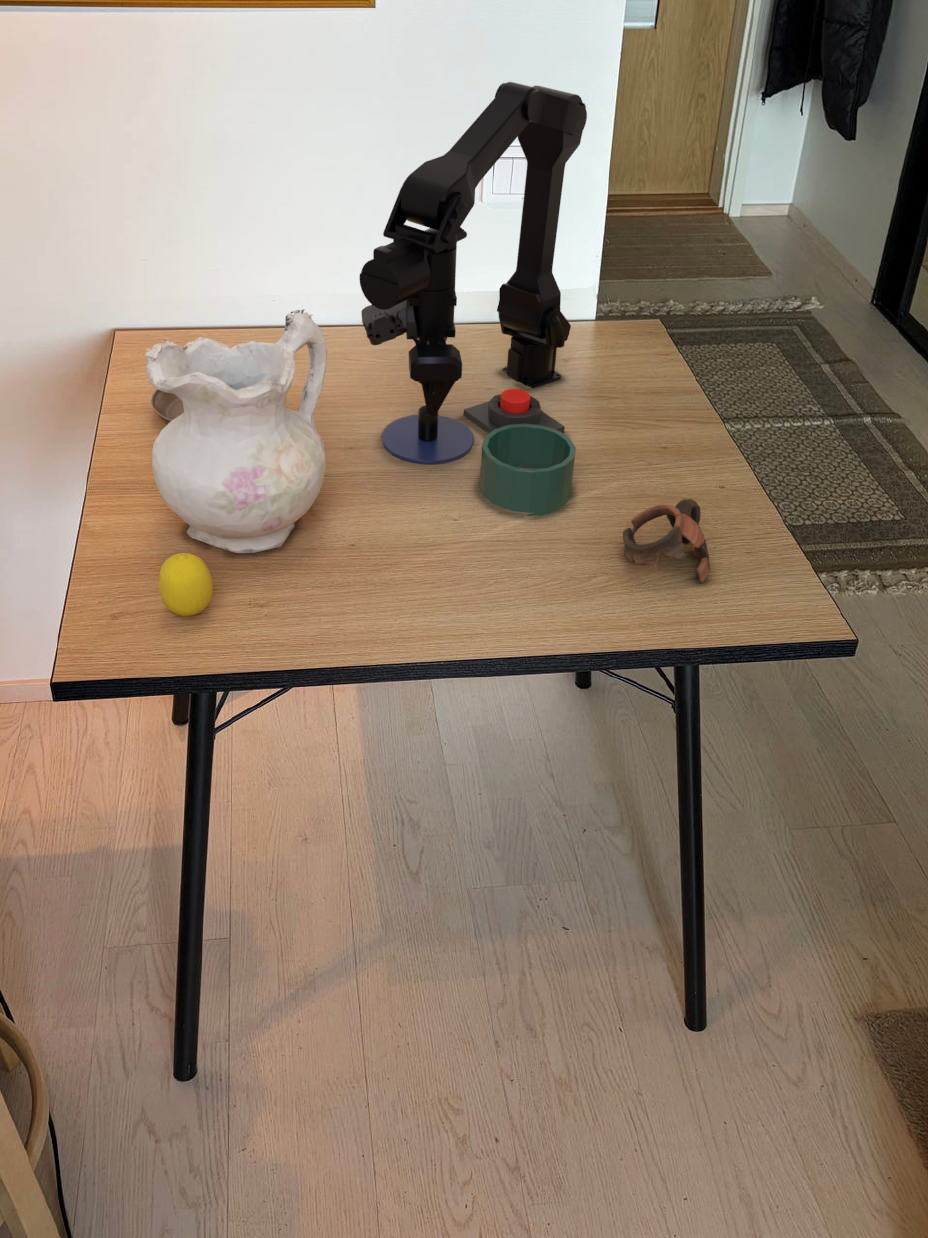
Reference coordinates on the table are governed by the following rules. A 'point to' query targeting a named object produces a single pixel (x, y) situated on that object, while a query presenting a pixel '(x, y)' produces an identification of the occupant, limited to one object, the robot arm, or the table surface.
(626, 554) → the broken clay ring
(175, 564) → the lemon
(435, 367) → the robot arm
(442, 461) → the lid
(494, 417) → the switch block
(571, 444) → the pot
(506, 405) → the button
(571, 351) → the table surface
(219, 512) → the ceramic pitcher
